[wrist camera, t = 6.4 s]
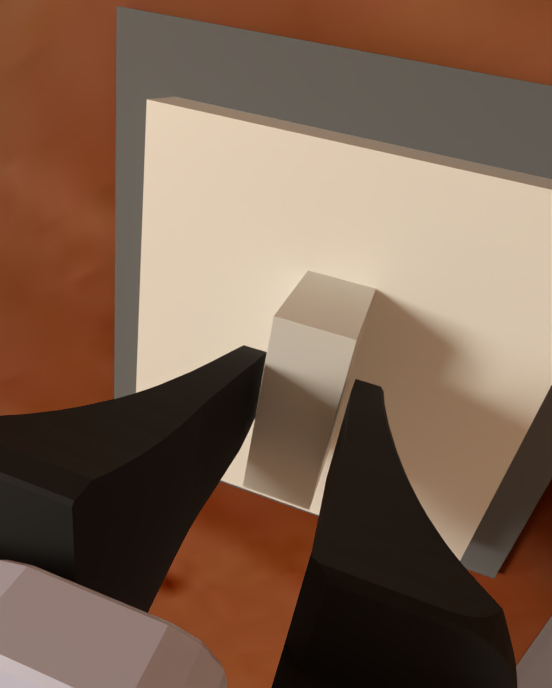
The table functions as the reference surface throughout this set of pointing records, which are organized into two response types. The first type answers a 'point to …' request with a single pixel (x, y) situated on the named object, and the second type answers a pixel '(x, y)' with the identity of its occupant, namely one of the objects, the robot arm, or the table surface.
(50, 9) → the table surface
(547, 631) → the storage box
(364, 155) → the lid
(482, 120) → the mat
